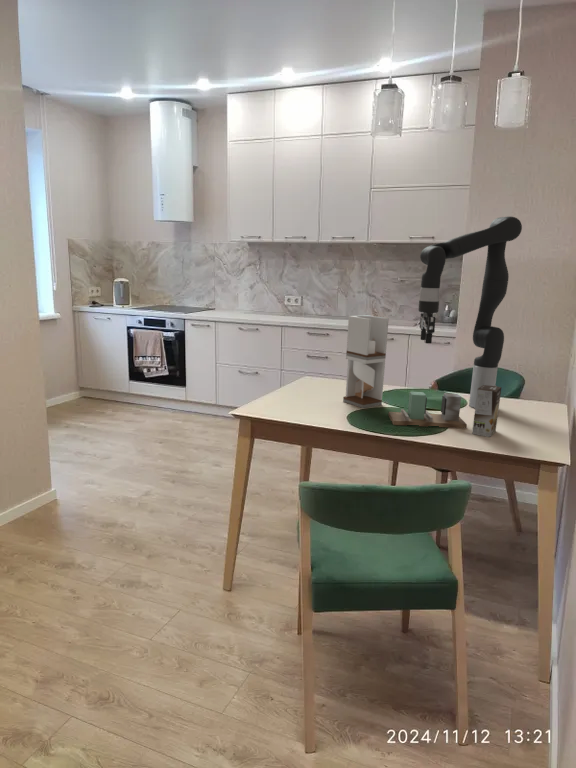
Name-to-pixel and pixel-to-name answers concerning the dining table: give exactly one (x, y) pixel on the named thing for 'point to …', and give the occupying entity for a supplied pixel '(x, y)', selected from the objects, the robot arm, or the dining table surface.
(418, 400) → the green rectangular block
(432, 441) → the dining table surface
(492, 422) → the coffee box
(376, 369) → the white dispenser tower
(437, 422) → the rail
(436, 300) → the robot arm
